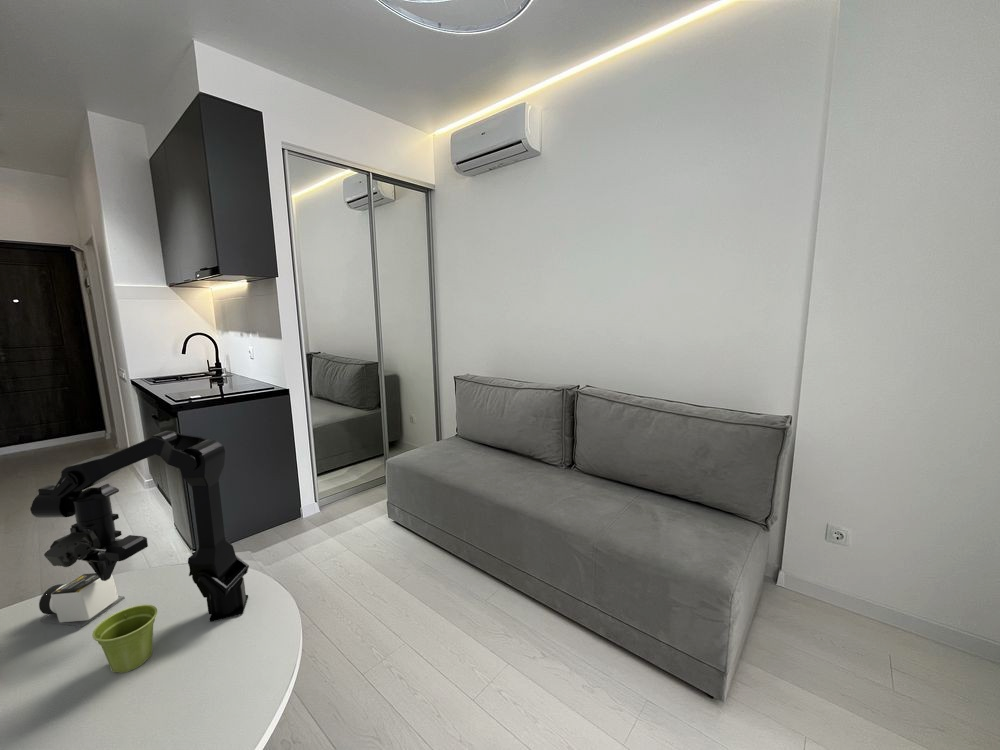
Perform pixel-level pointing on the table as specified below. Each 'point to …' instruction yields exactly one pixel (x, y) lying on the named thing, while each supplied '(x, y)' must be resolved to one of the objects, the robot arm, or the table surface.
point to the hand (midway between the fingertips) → (105, 579)
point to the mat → (54, 619)
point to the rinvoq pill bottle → (79, 598)
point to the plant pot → (127, 637)
